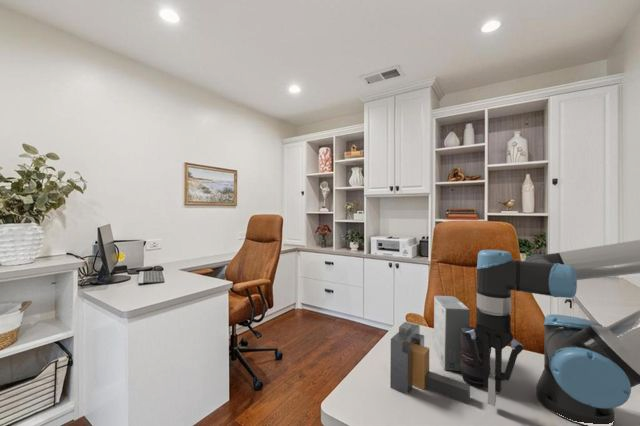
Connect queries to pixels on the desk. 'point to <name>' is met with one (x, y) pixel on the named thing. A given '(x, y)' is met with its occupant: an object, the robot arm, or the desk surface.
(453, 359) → the hard drive box
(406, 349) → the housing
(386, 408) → the desk surface
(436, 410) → the desk surface
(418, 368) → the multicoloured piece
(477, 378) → the camera lens
